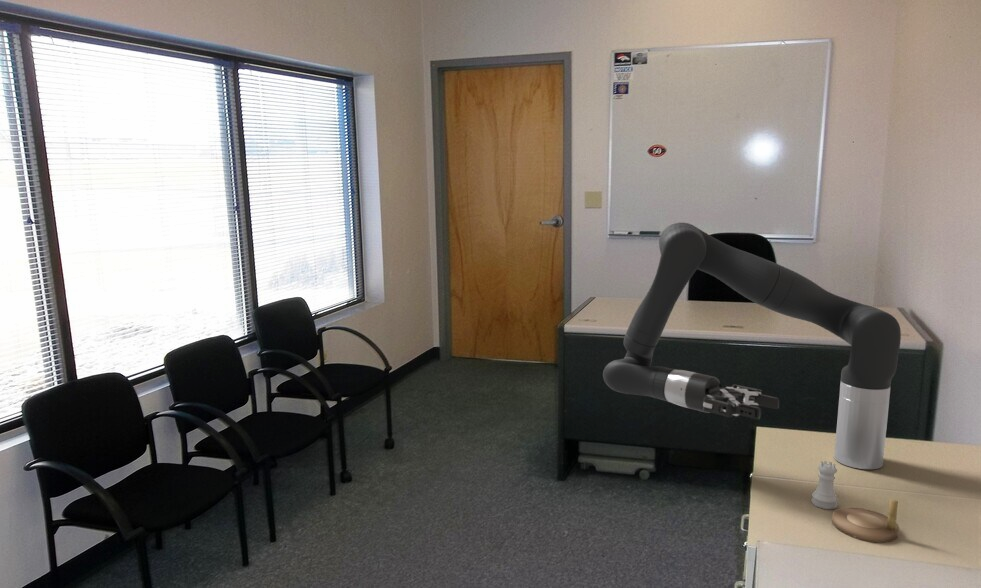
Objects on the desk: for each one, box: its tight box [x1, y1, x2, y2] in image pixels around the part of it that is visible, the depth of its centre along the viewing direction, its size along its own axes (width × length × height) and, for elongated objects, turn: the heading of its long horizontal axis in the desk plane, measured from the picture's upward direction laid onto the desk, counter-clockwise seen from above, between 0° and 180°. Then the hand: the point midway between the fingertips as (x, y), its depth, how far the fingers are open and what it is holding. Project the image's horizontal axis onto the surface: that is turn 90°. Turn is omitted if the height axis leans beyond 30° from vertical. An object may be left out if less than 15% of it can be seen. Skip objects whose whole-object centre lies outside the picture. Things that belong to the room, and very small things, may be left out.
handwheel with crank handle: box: [831, 499, 900, 543], centre depth 119 cm, size 10×10×6 cm
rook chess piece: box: [811, 460, 839, 511], centre depth 127 cm, size 4×4×8 cm
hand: (769, 408), depth 133 cm, fingers open, 8 cm apart
